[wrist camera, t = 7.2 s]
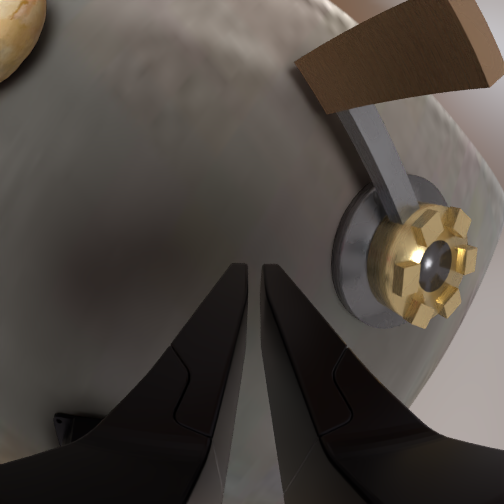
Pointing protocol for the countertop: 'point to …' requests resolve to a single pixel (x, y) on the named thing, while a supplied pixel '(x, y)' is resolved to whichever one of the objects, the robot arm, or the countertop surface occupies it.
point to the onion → (19, 31)
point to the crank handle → (383, 150)
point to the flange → (367, 252)
